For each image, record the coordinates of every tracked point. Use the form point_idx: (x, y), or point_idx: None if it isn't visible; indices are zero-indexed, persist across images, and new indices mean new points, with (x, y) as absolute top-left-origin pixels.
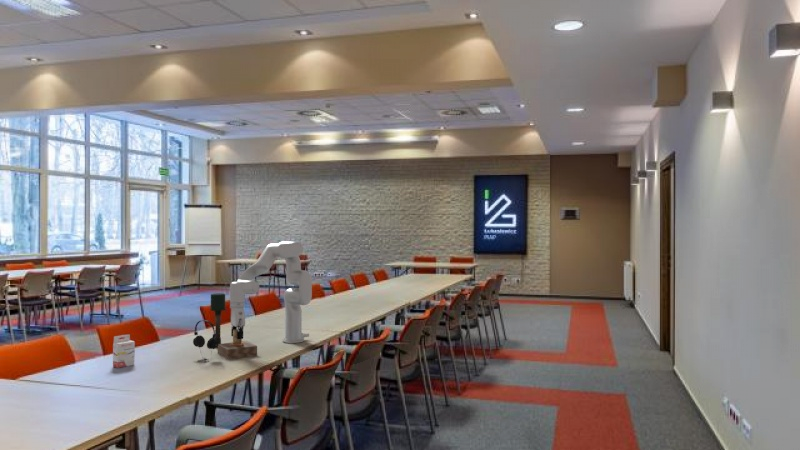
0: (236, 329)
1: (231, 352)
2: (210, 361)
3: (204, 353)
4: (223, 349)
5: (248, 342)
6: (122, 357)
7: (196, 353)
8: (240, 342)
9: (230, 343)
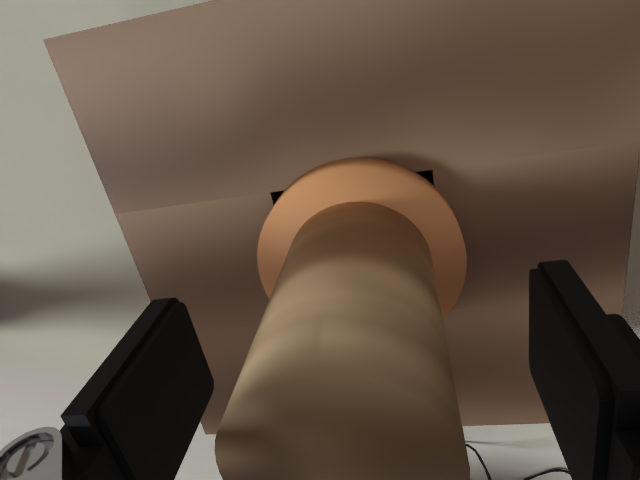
0: (239, 467)
1: None
2: (554, 458)
3: (199, 435)
4: None
5: (212, 33)
6: None
7: (181, 475)
8: (419, 237)
9: (208, 311)
